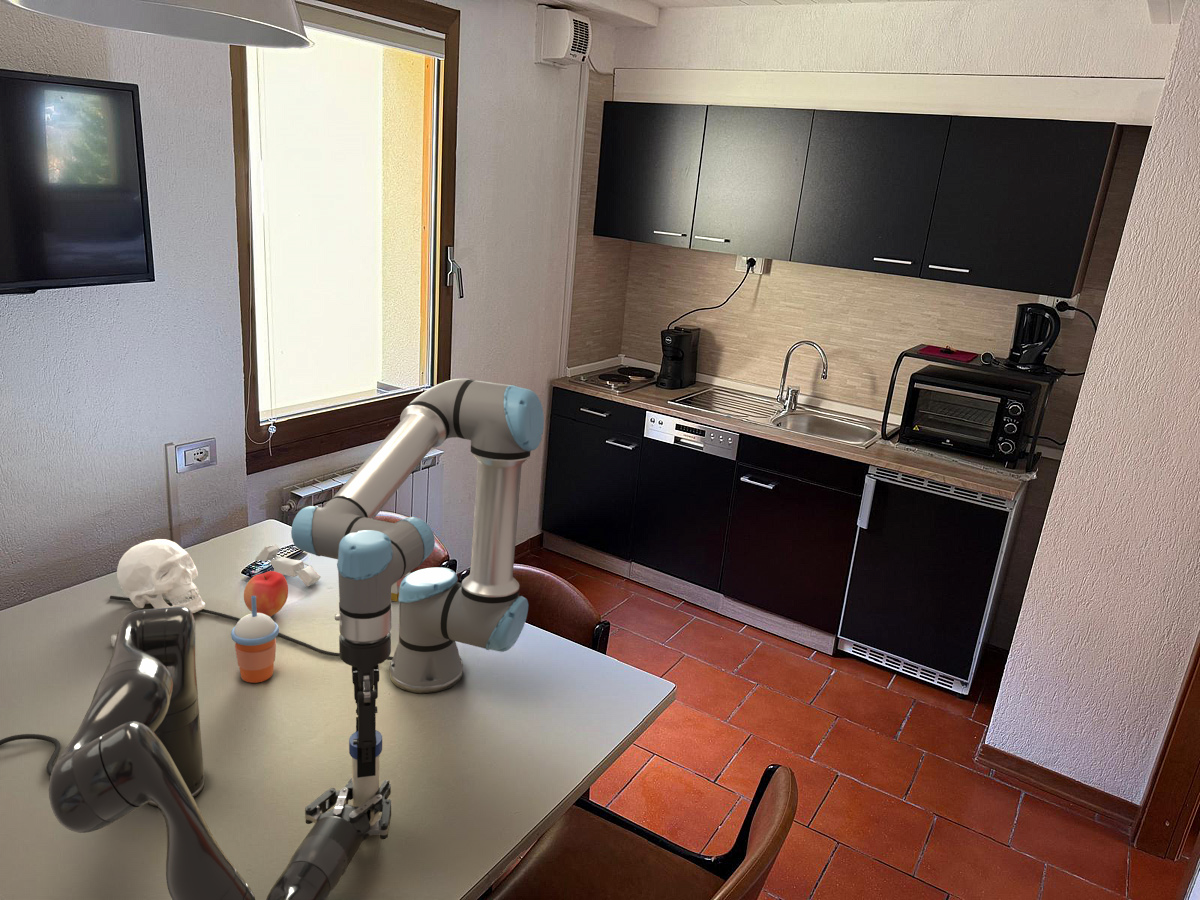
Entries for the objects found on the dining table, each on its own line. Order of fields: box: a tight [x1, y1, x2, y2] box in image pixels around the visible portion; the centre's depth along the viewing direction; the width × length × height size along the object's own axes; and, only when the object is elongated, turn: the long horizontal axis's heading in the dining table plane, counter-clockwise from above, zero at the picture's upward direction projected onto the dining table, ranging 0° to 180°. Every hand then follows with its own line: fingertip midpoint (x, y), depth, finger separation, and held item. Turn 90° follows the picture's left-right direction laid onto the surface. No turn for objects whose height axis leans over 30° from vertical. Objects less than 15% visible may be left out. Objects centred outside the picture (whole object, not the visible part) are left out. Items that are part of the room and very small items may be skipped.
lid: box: [348, 729, 383, 760], centre depth 134 cm, size 5×5×2 cm
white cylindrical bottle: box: [351, 755, 380, 837], centre depth 136 cm, size 4×4×16 cm
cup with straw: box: [230, 596, 280, 684], centre depth 174 cm, size 9×9×18 cm
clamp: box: [254, 544, 322, 587], centre depth 219 cm, size 20×4×7 cm, turn 62°
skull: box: [116, 538, 206, 614], centre depth 199 cm, size 13×22×16 cm, turn 73°
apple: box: [243, 570, 289, 618], centre depth 199 cm, size 10×10×10 cm
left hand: (373, 782), depth 139 cm, fingers closed on white cylindrical bottle, 4 cm apart
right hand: (365, 763), depth 135 cm, fingers closed on lid, 5 cm apart
